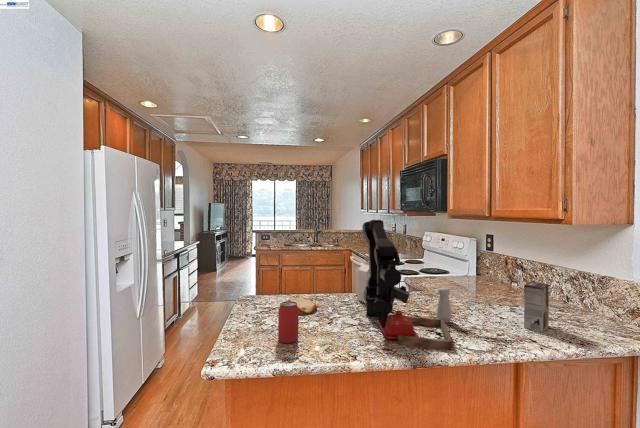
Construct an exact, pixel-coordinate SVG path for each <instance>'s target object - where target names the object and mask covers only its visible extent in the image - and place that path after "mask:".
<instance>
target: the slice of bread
mask: <svg viewBox="0 0 640 428" xmlns="http://www.w3.org/2000/svg"><path fill="white" fill-rule="evenodd" d="M287 301H293V302H296V303H297V306H298V310H299V315H302V316H310V315H314V314H315V313H316V312H317V311H318V306H317V303H316V302H314V301H312V300H308V299H305V298H298V297H289V298H288V300H287Z"/></svg>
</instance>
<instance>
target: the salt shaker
mask: <svg viewBox="0 0 640 428" xmlns="http://www.w3.org/2000/svg"><path fill="white" fill-rule="evenodd" d="M437 292H438V294H439V297H438V302H437V303H438V304H437V306H436V307H437V308H436V312H435V316H436V319H444V322H445V324H448V323H450V321H451V319H452V318H453V315H452V310H451V304H450V296H449V295H451V289H450V288H447V287H439V288H438V290H437Z"/></svg>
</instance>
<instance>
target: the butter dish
mask: <svg viewBox="0 0 640 428" xmlns="http://www.w3.org/2000/svg"><path fill="white" fill-rule="evenodd" d="M407 316H408V315H405V314H403V311H402V310H396V311H395V313H393V314H392V313H391V314H388V317H387V321H386V326H385V328H382V326H381V325H380V326H379V328H380V330H381V332H382V334H383V335H384V336H385V338H387V339H389V340H398V335H403V336H412V337H420V336H419V335H418V333H417V332H416V331H415V329H414V327H415V326H414V324H413V323H412V321H411V319H410V318H409V317H407Z"/></svg>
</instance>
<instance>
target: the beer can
mask: <svg viewBox="0 0 640 428" xmlns="http://www.w3.org/2000/svg"><path fill="white" fill-rule="evenodd" d="M299 315H300V314H299V310H298V306H297V303H296V302H293V301H288V300H287V301H286V300H285V301H281V302H280V304H279V308H278V319H277V323H278V324H277V325H278V327H277V329H278V331H277V338H278V341H279V342H281V343H283V344H291V343H296V342H297V341H298V340H299Z"/></svg>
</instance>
